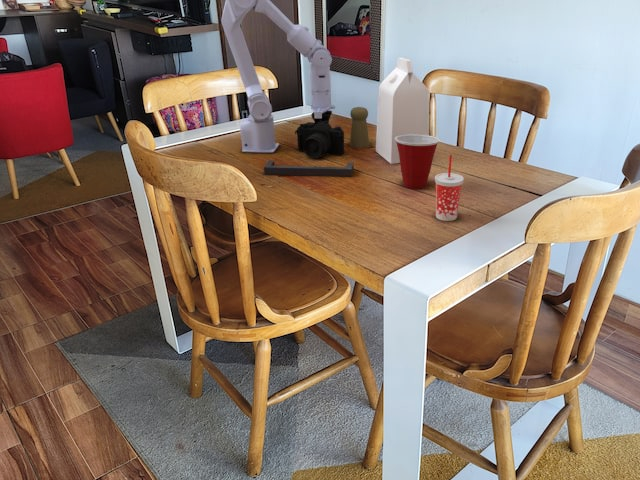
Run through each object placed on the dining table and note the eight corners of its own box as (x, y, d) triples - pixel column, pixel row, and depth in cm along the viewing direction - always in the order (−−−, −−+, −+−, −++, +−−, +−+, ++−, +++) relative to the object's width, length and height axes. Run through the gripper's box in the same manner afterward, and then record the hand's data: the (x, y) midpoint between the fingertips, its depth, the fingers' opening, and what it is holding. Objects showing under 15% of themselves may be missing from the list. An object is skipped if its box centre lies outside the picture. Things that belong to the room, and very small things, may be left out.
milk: (429, 159, 160) (434, 61, 147) (391, 163, 156) (392, 64, 143) (411, 146, 169) (415, 54, 157) (375, 151, 166) (376, 57, 153)
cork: (369, 147, 169) (369, 110, 164) (349, 147, 169) (348, 110, 164) (369, 141, 174) (369, 105, 169) (349, 141, 174) (349, 105, 169)
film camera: (286, 156, 162) (284, 125, 158) (301, 146, 170) (299, 116, 166) (336, 162, 158) (335, 130, 153) (348, 152, 166) (348, 121, 161)
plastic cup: (441, 179, 145) (444, 133, 140) (431, 194, 137) (434, 145, 131) (400, 175, 149) (401, 129, 143) (388, 189, 140) (389, 141, 134)
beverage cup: (464, 220, 123) (470, 158, 117) (437, 223, 122) (441, 160, 115) (454, 209, 129) (459, 149, 122) (428, 212, 128) (432, 151, 121)
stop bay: (264, 174, 150) (263, 167, 149) (269, 167, 155) (268, 160, 154) (351, 176, 148) (351, 169, 147) (353, 169, 153) (353, 162, 152)
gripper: (331, 95, 158) (332, 144, 165) (337, 84, 170) (338, 130, 177) (306, 95, 158) (308, 143, 165) (314, 84, 171) (316, 129, 178)
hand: (322, 136), depth 171 cm, fingers closed
